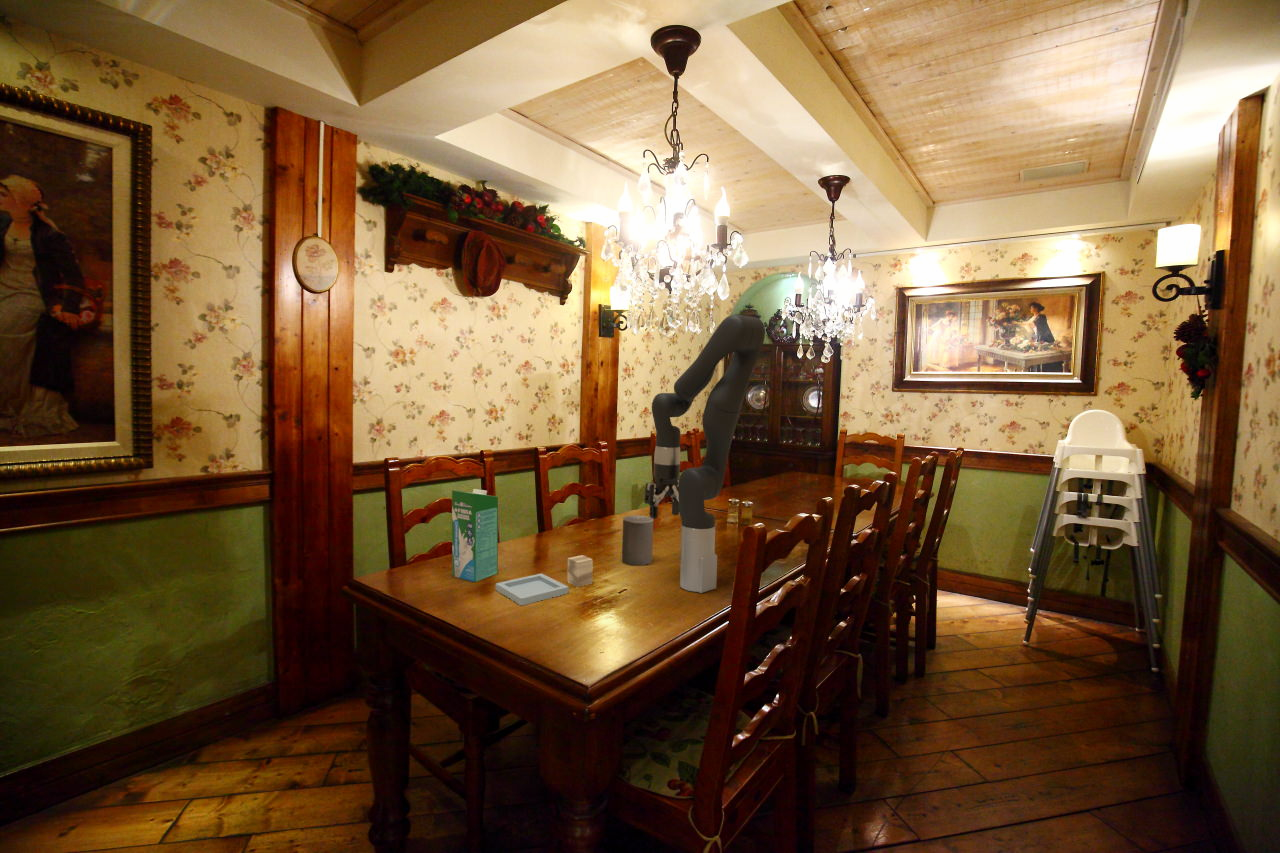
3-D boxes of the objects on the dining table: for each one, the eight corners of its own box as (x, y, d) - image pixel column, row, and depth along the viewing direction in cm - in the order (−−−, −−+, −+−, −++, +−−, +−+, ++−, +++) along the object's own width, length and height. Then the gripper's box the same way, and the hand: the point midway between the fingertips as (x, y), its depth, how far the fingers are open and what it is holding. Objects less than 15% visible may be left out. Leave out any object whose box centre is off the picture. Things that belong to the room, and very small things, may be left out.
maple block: (592, 583, 160) (592, 559, 159) (577, 587, 157) (577, 562, 156) (582, 579, 164) (582, 555, 163) (567, 582, 160) (567, 558, 160)
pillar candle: (617, 563, 178) (618, 516, 177) (627, 555, 188) (628, 510, 186) (647, 567, 175) (649, 519, 174) (655, 558, 185) (657, 512, 184)
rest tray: (568, 593, 152) (568, 586, 152) (521, 605, 143) (521, 598, 143) (541, 579, 162) (541, 573, 162) (495, 590, 153) (495, 583, 153)
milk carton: (498, 573, 167) (498, 488, 165) (474, 582, 159) (474, 493, 158) (475, 568, 172) (475, 485, 170) (452, 576, 164) (451, 489, 162)
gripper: (657, 465, 159) (655, 522, 160) (693, 461, 168) (691, 516, 170) (640, 461, 164) (637, 517, 166) (675, 458, 174) (673, 510, 175)
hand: (664, 516), depth 168 cm, fingers open, 8 cm apart
